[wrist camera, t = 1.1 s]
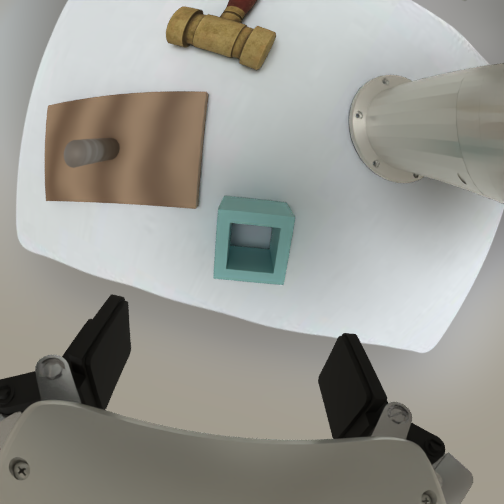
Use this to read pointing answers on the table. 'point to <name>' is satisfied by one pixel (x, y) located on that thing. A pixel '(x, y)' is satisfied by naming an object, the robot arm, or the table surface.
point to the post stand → (126, 149)
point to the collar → (247, 258)
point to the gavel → (222, 33)
